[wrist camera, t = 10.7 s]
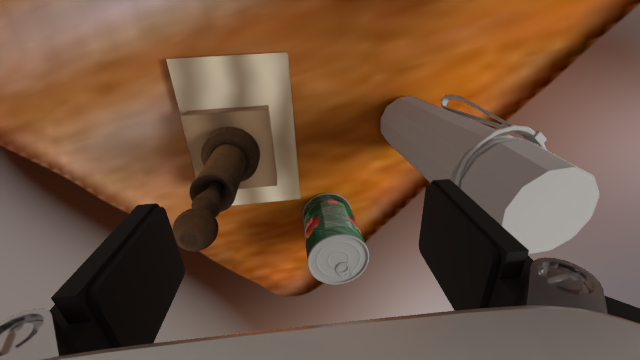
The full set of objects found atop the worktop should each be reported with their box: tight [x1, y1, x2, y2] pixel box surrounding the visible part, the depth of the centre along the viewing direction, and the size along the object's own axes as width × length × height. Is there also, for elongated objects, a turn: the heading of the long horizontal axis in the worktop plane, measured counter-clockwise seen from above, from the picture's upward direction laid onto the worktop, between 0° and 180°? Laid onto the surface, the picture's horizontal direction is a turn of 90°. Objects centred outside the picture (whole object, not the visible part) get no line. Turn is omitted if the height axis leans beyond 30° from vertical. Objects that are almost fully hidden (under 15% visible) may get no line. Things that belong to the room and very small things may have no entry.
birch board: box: [166, 52, 301, 206], centre depth 39 cm, size 14×20×1 cm
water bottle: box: [380, 95, 599, 254], centre depth 29 cm, size 9×8×25 cm
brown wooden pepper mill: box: [173, 127, 260, 251], centre depth 28 cm, size 7×6×18 cm
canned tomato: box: [302, 193, 369, 284], centre depth 41 cm, size 8×8×11 cm
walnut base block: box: [180, 105, 277, 189], centre depth 37 cm, size 10×10×3 cm
